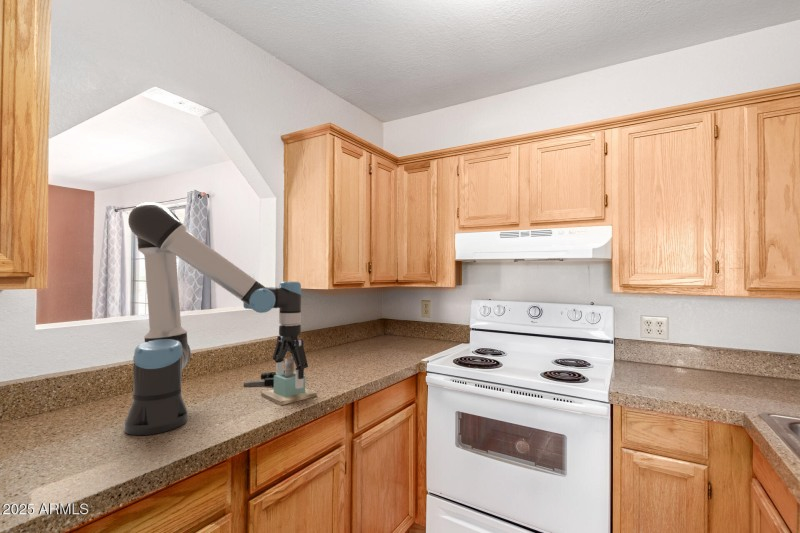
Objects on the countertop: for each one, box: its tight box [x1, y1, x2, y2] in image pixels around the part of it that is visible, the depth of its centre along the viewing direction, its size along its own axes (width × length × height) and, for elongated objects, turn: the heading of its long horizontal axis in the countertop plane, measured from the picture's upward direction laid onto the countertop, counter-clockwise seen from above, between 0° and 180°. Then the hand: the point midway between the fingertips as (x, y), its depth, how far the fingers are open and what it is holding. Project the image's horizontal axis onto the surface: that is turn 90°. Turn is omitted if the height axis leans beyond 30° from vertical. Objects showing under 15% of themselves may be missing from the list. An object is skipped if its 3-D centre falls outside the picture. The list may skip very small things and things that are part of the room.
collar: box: [273, 371, 306, 397], centre depth 134 cm, size 8×8×6 cm
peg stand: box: [260, 357, 318, 406], centre depth 134 cm, size 14×14×13 cm
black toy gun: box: [243, 369, 285, 388], centre depth 150 cm, size 3×20×16 cm
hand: (289, 383), depth 134 cm, fingers open, 13 cm apart
